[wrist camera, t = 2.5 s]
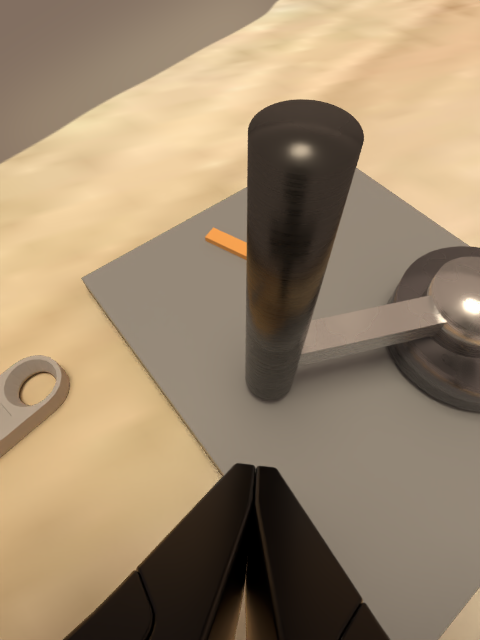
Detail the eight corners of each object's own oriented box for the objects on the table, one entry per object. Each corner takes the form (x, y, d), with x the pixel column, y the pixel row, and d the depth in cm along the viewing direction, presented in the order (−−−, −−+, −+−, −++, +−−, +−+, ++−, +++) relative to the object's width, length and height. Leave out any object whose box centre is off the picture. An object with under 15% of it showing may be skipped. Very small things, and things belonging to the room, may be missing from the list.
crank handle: (578, 347, 17) (1013, 79, 7) (386, 555, 13) (781, 561, 4) (425, 236, 21) (587, -47, 11) (235, 376, 17) (224, 127, 7)
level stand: (630, 380, 18) (656, 368, 17) (378, 692, 12) (391, 705, 11) (320, 158, 26) (324, 140, 25) (88, 289, 21) (79, 274, 19)
